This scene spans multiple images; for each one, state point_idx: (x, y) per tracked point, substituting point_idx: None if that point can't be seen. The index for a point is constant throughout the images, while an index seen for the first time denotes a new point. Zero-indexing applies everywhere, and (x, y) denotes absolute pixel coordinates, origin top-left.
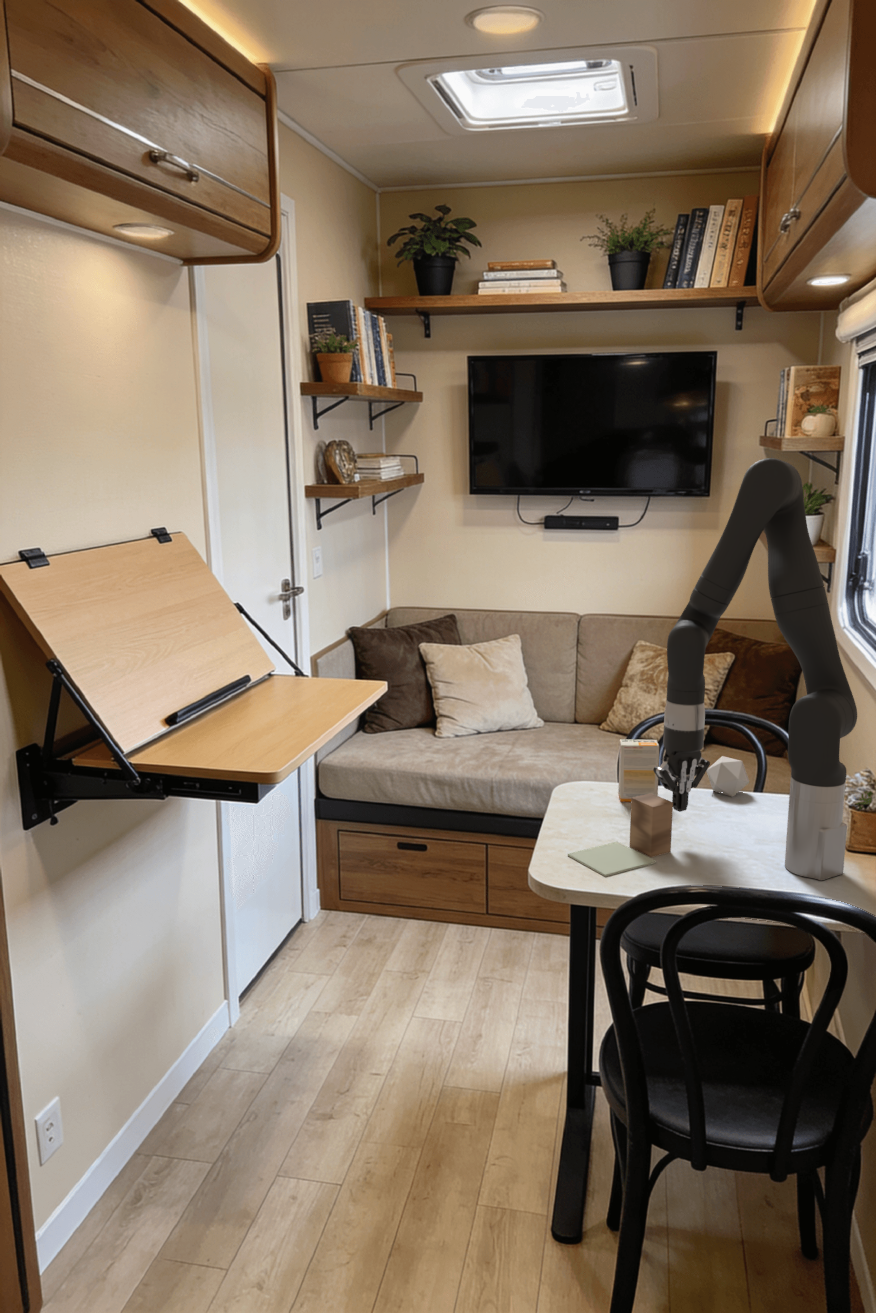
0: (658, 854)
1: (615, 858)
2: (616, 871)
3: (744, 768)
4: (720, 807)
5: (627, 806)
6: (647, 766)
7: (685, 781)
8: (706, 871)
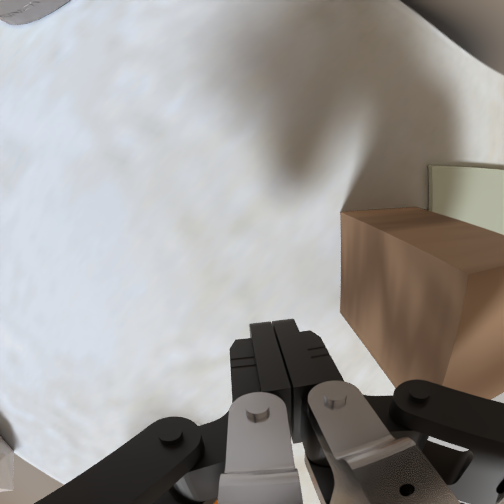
0: (390, 208)
1: None
2: None
3: None
4: (15, 402)
5: None
6: None
7: (347, 457)
8: (335, 35)
